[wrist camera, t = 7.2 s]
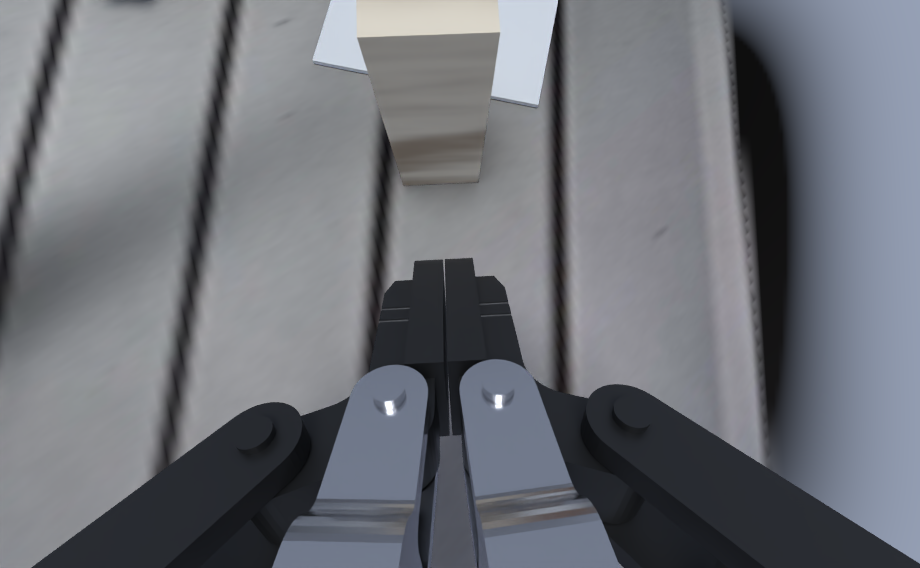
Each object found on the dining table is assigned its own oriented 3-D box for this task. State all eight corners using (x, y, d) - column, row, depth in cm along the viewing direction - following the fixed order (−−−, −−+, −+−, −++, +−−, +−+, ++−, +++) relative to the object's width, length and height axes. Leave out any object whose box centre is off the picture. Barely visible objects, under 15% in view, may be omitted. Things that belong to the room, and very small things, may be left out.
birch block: (478, 182, 25) (500, 32, 13) (403, 185, 25) (357, 37, 13) (473, 114, 26) (490, -85, 14) (401, 117, 25) (355, -82, 14)
